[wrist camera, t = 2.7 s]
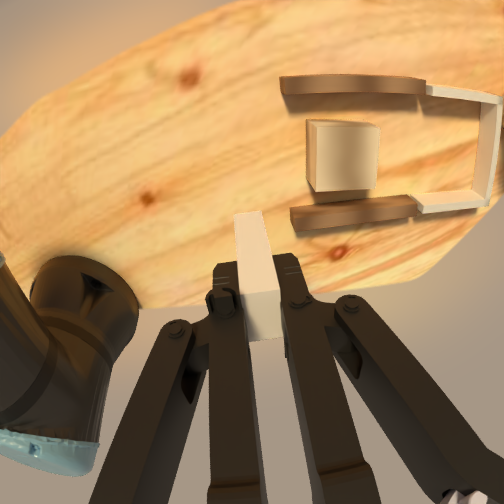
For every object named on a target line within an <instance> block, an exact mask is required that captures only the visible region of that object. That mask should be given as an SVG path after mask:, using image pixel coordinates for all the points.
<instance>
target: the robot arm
mask: <svg viewBox="0 0 504 504" xmlns="http://www.w3.org/2000/svg"><path fill="white" fill-rule="evenodd" d="M234 226H235V240H236V253H237V261H233V262H226V263H218V264H217V265H216V267H215V268H214V270H213V289H212V290H210V291H209V292H208V294H207V295H206V298H205V300H206V304H207V307H208V311H209V315H208V316H207V317H205V318H204V319H202V320H200V321H198V322H196V323H193V324H190V323H189V322H188V321H186V320H182V319H178V320H173V321H170V322H168V323H167V324H165V325H164V326H163V327H162V329H161V330H160V332H159V335H158V337H157V339H156V341H155V343H154V346H153V348H152V350H151V352H150V354H149V357H148V359H147V361H146V363H145V366H144V368H143V370H142V372H141V375H140V377H139V379H138V382H137V384H136V386H135V388H134V391H133V393H132V395H131V398H130V400H129V402H128V405H127V407H126V410H125V412H124V414H123V417H122V419H121V422H120V424H119V426H118V429H117V431H116V434H115V436H114V439H113V441H112V444H111V446H110V449H109V451H108V454H107V457H106V459H105V462H104V464H103V466H102V469H101V472H100V474H99V477H98V480H97V482H96V485H95V487H94V490H93V493H92V496H91V498H90V501H89V504H168V501H169V497H170V494H171V491H172V487H173V484H174V480H175V477H176V473H177V470H178V466H179V463H180V460H181V456H182V453H183V450H184V446H185V443H186V439H187V435H188V432H189V429H190V426H191V422H192V419H193V416H194V412H195V409H196V406H197V402H198V399H199V395H200V392H201V389H202V385H203V382H204V378H205V375H206V370H208V369H209V434H210V469H211V483H210V486H209V488H208V492H207V504H268V500H267V493H266V484H265V476H264V468H263V460H262V451H261V442H260V434H259V425H258V417H257V408H256V399H255V390H254V381H253V372H252V363H251V354H250V348H249V342H252V341H260V340H267V339H273V338H280V337H283V336H284V345H285V346H284V347H285V358H287V362H288V367H289V372H290V378H291V383H292V388H293V393H294V398H295V403H296V408H297V414H298V419H299V425H300V429H301V435H302V441H303V446H304V451H305V456H306V462H307V467H308V473H309V478H310V484H311V490H312V501H313V504H381V500H380V496H379V492H378V488H377V485H376V481H375V478H374V474H373V471H372V468H371V467H370V465H369V464H368V463H367V462H366V461H365V460H364V457H363V454H362V451H361V447H360V444H359V440H358V437H357V433H356V429H355V426H354V422H353V419H352V416H351V412H350V409H349V405H348V403H347V399H346V395H345V392H344V389H343V386H342V382H341V379H340V376H339V373H338V369H337V366H336V363H335V360H334V357H335V358H336V360H337V361H338V363H339V364H340V366H341V368H342V369H343V370H344V372H345V374H346V375H347V376H348V378H349V380H350V381H351V383H352V384H353V385H354V387H355V389H356V390H357V392H358V393H359V395H360V396H361V398H362V399H363V401H364V402H365V404H366V405H367V407H368V408H369V410H370V411H371V413H372V414H373V415H374V417H375V419H376V420H377V422H378V423H379V425H380V426H381V428H382V430H383V431H384V433H385V434H386V436H387V437H388V439H389V440H390V442H391V443H392V445H393V446H394V448H395V449H396V451H397V452H398V454H399V455H400V457H401V458H402V460H403V462H404V463H405V465H406V466H407V468H408V469H409V471H410V472H411V474H412V475H413V477H414V479H415V480H416V481H417V483H418V485H419V486H420V487H421V488H422V490H423V491H424V493H425V494H426V495H427V496H428V497H429V498H430V499H431V500H432V501H433V502H434V503H435V504H504V459H503V458H502V457H500V456H499V455H497V454H495V453H494V452H492V451H490V450H489V449H487V448H486V446H485V445H484V444H483V442H482V441H481V440H480V439H479V437H478V436H477V434H476V433H475V432H474V430H473V429H472V428H471V426H470V425H469V424H468V423H467V421H466V420H465V419H464V417H463V416H462V415H461V414H460V412H459V411H458V410H457V409H456V407H455V406H454V405H453V404H452V402H451V401H450V400H449V399H448V397H447V396H446V395H445V393H444V392H443V391H442V390H441V388H440V387H439V386H438V385H437V384H436V382H435V381H434V380H433V379H432V377H431V376H430V375H429V374H428V373H427V372H426V370H425V369H424V368H423V366H422V365H421V364H420V363H419V362H418V360H417V359H416V358H415V357H414V356H413V355H412V353H411V352H410V351H409V350H408V349H407V347H406V346H405V345H404V344H403V343H402V342H401V340H400V339H399V338H398V337H397V336H396V335H395V333H394V332H393V331H392V330H391V329H390V328H389V327H388V325H387V324H386V323H385V322H384V321H383V320H382V319H381V317H380V316H379V315H378V314H377V313H376V312H375V311H374V310H373V308H372V307H371V306H370V305H369V304H368V303H367V302H366V301H365V300H364V299H363V298H362V297H359V296H357V295H344V296H342V297H340V298H339V299H338V300H337V301H336V303H325V302H320V301H318V300H316V299H314V298H313V296H312V295H311V294H310V293H309V291H308V288H307V285H306V282H305V279H304V276H303V273H302V270H301V267H300V264H299V261H298V258H296V257H295V256H294V255H293V254H292V253H286V254H279V255H272V253H271V249H270V245H269V241H268V237H267V232H266V228H265V224H264V220H263V216H262V212H261V211H254V212H247V213H239V214H234ZM138 316H139V309H138V304H137V301H136V298H135V296H134V294H133V292H132V290H131V289H130V287H129V286H128V285H127V284H126V282H125V281H124V280H123V279H122V278H121V277H120V276H119V275H117V274H116V273H115V272H114V271H112V270H111V269H109V268H108V267H106V266H105V265H103V264H101V263H99V262H97V261H94V260H91V259H88V258H85V257H80V256H60V257H57V258H54V259H52V260H50V261H48V262H47V263H45V264H44V265H43V266H42V268H41V269H40V270H39V272H38V274H37V275H36V277H35V278H34V280H33V283H32V285H31V289H30V302H29V300H28V299H27V297H26V296H25V294H24V293H23V291H22V290H21V288H20V286H19V285H18V283H17V281H16V280H15V278H14V276H13V275H12V273H11V271H10V270H9V268H8V266H7V265H6V263H5V257H4V255H3V253H1V251H0V454H1V455H3V456H5V457H8V458H10V459H12V460H14V461H17V462H19V463H22V464H24V465H27V466H30V467H33V468H36V469H39V470H43V471H46V472H50V473H54V474H59V475H65V476H74V477H76V476H83V475H86V474H87V473H89V472H90V471H91V470H92V468H93V464H94V460H95V456H96V453H97V449H98V447H99V445H100V444H99V436H100V429H101V423H102V417H103V412H104V406H105V400H106V396H107V391H108V386H109V381H110V376H111V372H112V367H113V364H114V363H115V361H116V360H117V358H118V357H119V355H120V354H121V352H122V351H123V349H124V348H125V346H126V345H127V344H128V343H129V342H130V341H131V339H132V337H133V335H134V333H135V330H136V326H137V322H138ZM333 356H334V357H333Z"/></svg>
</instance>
